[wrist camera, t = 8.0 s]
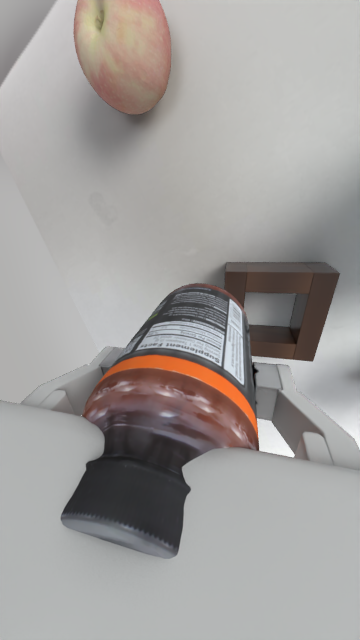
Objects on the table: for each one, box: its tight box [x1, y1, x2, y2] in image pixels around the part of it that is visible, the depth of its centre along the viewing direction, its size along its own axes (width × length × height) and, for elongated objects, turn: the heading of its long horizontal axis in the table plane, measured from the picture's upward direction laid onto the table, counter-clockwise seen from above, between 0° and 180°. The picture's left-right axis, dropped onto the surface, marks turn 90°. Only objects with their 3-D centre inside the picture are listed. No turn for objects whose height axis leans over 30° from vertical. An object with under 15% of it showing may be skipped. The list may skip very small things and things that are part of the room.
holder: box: [224, 262, 340, 361], centre depth 29 cm, size 12×12×4 cm
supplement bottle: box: [61, 283, 259, 559], centre depth 9 cm, size 6×6×11 cm
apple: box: [74, 0, 171, 114], centre depth 19 cm, size 8×8×8 cm
